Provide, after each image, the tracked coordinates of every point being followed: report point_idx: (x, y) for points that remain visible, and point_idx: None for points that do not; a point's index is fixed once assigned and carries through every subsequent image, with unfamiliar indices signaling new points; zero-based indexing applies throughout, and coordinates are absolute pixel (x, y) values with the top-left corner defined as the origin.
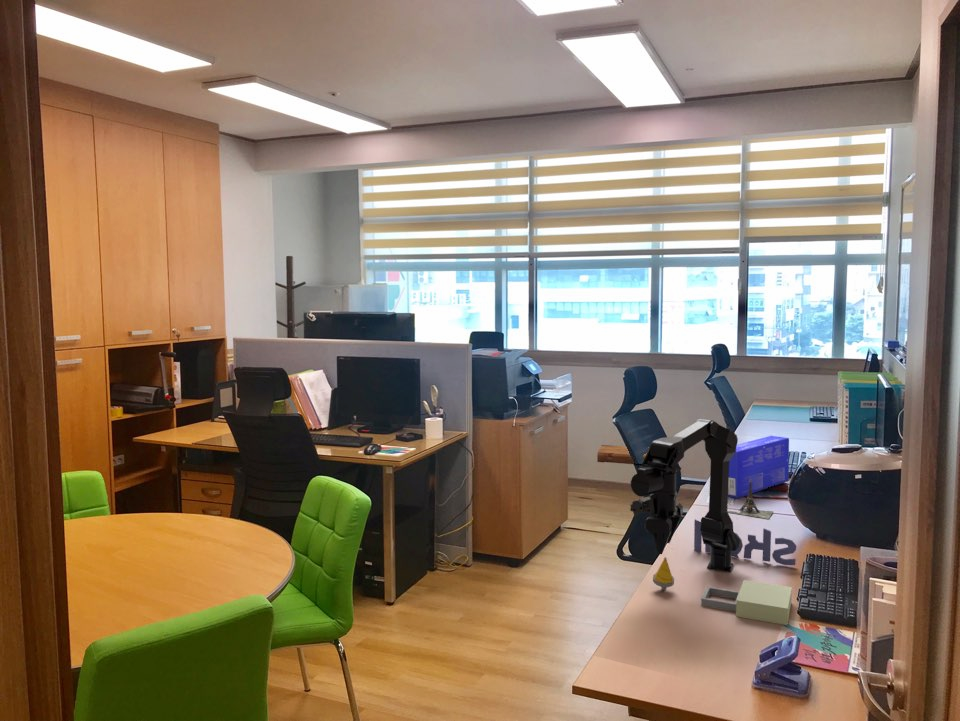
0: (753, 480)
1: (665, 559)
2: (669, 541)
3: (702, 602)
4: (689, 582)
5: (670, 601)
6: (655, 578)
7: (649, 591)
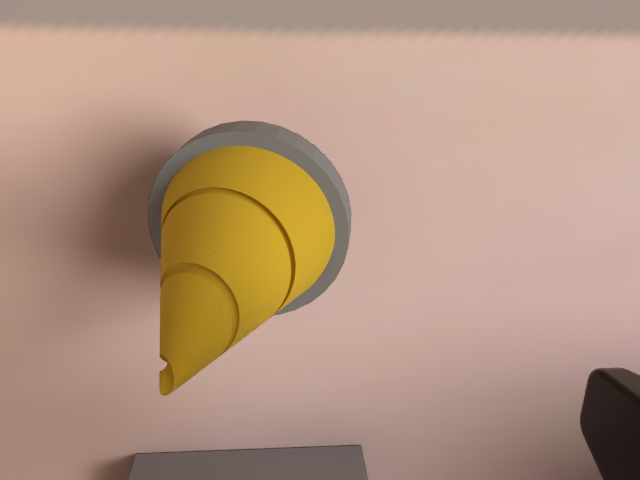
0: None
1: (162, 374)
2: (592, 452)
3: (132, 476)
4: (516, 318)
5: (97, 275)
6: (190, 163)
7: (211, 82)
